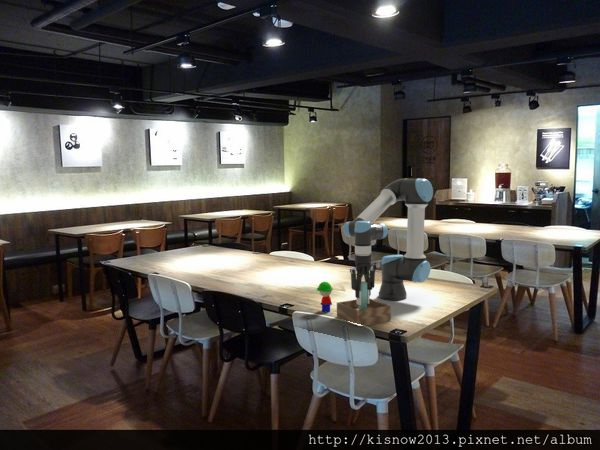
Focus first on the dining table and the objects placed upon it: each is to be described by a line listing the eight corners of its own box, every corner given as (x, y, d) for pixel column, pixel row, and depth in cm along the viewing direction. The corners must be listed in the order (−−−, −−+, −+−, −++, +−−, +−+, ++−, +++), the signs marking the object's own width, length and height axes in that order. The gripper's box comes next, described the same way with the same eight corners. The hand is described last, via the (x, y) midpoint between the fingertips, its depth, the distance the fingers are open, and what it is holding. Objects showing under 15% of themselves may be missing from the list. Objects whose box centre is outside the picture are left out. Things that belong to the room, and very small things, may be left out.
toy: (314, 312, 245) (313, 282, 243) (323, 308, 251) (322, 279, 250) (327, 314, 240) (326, 284, 239) (336, 310, 246) (335, 281, 245)
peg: (364, 310, 234) (364, 281, 233) (369, 312, 231) (368, 282, 230) (357, 311, 233) (356, 282, 231) (361, 313, 229) (361, 283, 228)
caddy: (367, 311, 244) (367, 297, 244) (390, 320, 228) (390, 306, 228) (336, 316, 236) (336, 302, 235) (358, 327, 220) (358, 311, 219)
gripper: (373, 251, 236) (373, 299, 239) (343, 254, 228) (343, 304, 231) (382, 253, 230) (382, 303, 232) (352, 257, 222) (352, 308, 224)
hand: (363, 303), depth 231 cm, fingers closed on peg, 4 cm apart
